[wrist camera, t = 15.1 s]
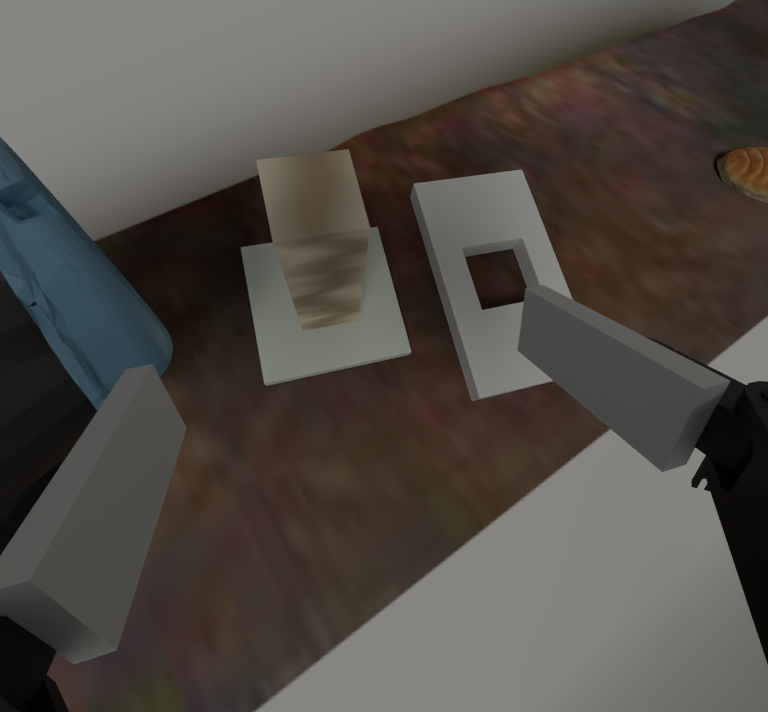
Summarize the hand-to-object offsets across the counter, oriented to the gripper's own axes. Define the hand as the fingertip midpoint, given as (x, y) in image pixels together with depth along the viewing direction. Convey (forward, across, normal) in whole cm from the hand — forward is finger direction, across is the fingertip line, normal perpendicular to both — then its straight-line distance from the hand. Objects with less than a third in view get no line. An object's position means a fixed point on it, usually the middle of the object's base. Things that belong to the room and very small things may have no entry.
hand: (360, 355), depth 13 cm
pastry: (+24, +54, -3) cm, 60 cm away
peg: (+20, 0, -6) cm, 20 cm away
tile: (+20, 0, -6) cm, 21 cm away
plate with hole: (+20, +17, -7) cm, 27 cm away
